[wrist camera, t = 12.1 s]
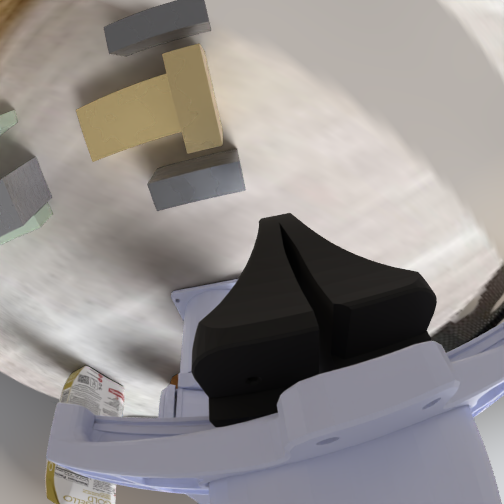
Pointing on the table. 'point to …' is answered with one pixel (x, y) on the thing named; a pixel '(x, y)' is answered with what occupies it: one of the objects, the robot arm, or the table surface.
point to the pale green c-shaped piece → (44, 213)
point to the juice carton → (99, 403)
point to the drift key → (157, 109)
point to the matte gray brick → (22, 196)
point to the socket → (195, 170)
